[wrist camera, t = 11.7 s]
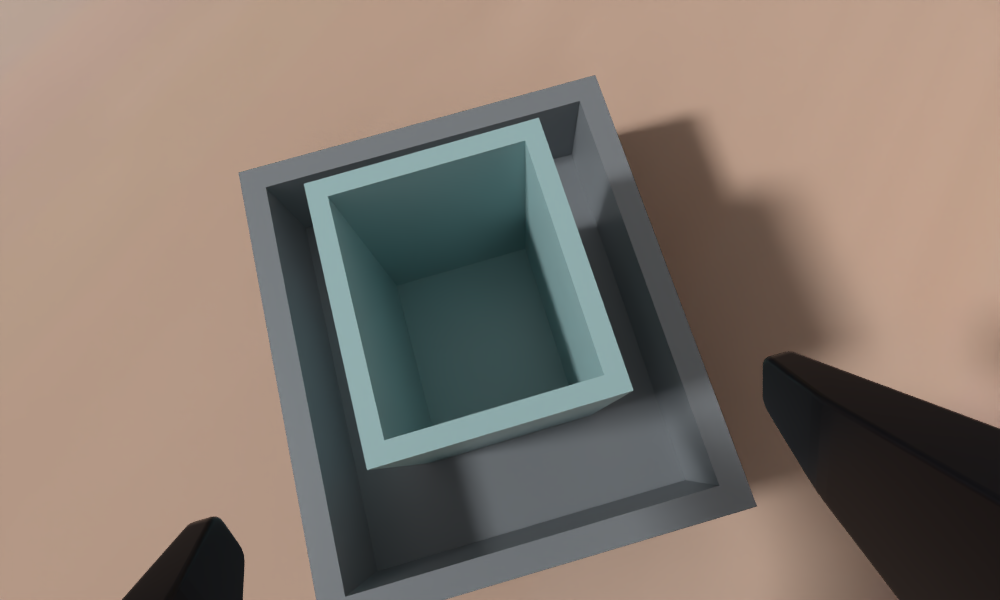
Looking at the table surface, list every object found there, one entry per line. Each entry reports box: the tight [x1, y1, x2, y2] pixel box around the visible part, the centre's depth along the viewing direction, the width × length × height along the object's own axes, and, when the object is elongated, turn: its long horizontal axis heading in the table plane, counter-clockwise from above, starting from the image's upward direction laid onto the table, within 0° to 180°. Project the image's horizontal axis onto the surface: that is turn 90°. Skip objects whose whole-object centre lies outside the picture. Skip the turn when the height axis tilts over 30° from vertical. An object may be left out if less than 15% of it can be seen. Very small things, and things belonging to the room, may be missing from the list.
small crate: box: [304, 118, 634, 470], centre depth 18 cm, size 7×6×8 cm
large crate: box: [239, 75, 757, 600], centre depth 20 cm, size 15×13×4 cm
